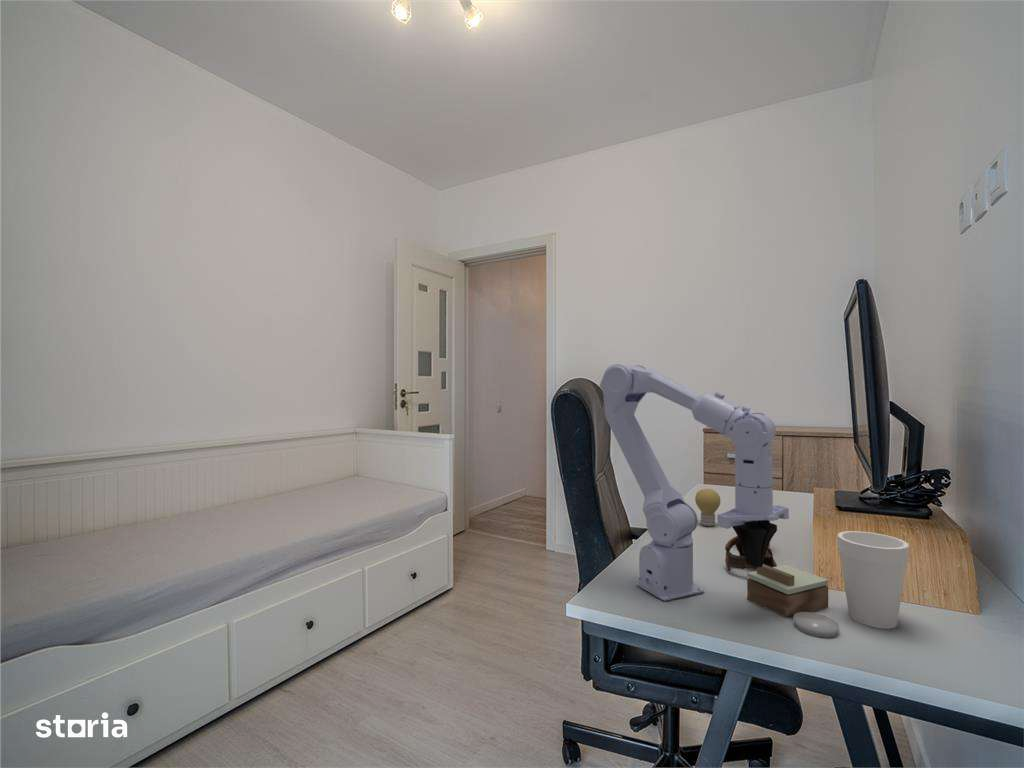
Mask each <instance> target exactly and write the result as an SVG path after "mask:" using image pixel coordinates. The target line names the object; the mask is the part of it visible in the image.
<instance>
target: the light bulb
mask: <svg viewBox="0 0 1024 768" xmlns="http://www.w3.org/2000/svg"><path fill="white" fill-rule="evenodd" d="M694 498H695V504H696V506H697V508H698V509H699V510H700V524H701V525H702V526H704V527H713V526H715V525H716V514H715V513H716V511H717V510H718V509H719V508H720V505H721V496H720V494H719V493H718V492H717V491H716V490H714V489H711V488H702V489H700V490H698V491H697V492H696V494H695V497H694Z"/></svg>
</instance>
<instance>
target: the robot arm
mask: <svg viewBox="0 0 1024 768" xmlns="http://www.w3.org/2000/svg"><path fill="white" fill-rule="evenodd" d="M599 387H600V389H601V391H602V393H603V405H604V406H603V407H604V416H605V419H606V422H607V423H608V426H609V427H610V429H611V431H612V434H613V436H614V437H615V439H616V442H617V443H618V446H619V447H620V450H621V452H622V453H623V455H624V458H625V460H626V461H627V464H628V466H629V468H630V470H631V471H632V474H633V476H634V478H635V480H636V483H637V484H638V486H639V488H640V490H641V493H642V494H643V497H644V501H643V506H642V512H643V513H644V516H645V520H646V521H645V522H646V530H647V532H648V534H649V536H650V537H651V539H652V540H651V542H649V543H648V544H645V545H643V546H642V547H641V549H640V551H639V555H638V556H639V557H638V558H639V561H638V562H639V563H638V564H639V566H638V567H639V571H638V573H639V578H638V579H639V581H638V582H636V585H637V586H638V587H640V588H642V589H643V590H645V591H646V592H649V593H650V594H651V595H653V596H655V597H657V598H658V599H660V600H661V601H665V602H667V601H671V600H674V599H679V598H684V597H688V596H693V595H697V594H701V593H705V592H704V591H705V590H704V588H702V587H700V586H698V585H697V584H694V540H693V535H692V533H693V532H694V531H695V530H696V529H697V526H698V524H699V523H698V522H699V519H698V514H697V512H696V511H695V509H694V507H692V506H691V505H690V504H689V503H688V502H687V501H686V500H685V498H683V495H682V494H681V492H679V491H678V490H677V489H675V488H674V487H673V486H671V483H670V482H669V480H668V478H667V476H666V475H665V472H664V471H663V469H662V466H661V465H660V462H659V460H658V458H657V457H656V455H655V453H654V451H653V449H652V447H651V445H650V443H649V440H648V439H647V436H646V435H645V433H644V431H643V430H642V427H641V426H640V424H639V422H638V420H637V418H636V416H635V413H636V412H637V411H636V410H637V408H638V405H639V403H640V402H641V401H642V399H643V398H644V397H645V396H646V395H647V393H648V394H649V393H653V394H655V395H658V396H660V397H661V398H664V399H667V400H669V401H670V402H673V403H675V404H678V405H679V406H682V407H683V408H685V409H688V410H690V411H691V414H692V416H693V418H694V420H695V421H697V422H698V423H701V424H702V425H704V426H705V427H708V428H710V429H711V430H713V431H716V432H718V433H719V434H722V435H724V436H725V437H727V438H728V437H729V438H730V440H731V442H732V443H733V445H734V447H735V448H734V452H735V453H734V492H735V493H734V499H735V501H734V505H735V506H734V507H735V508H733V509H730V510H727V511H725V512H722V513H717V516H716V517H717V526H718V527H720V528H723V529H727V530H728V529H733V530H734V533H735V534H736V536H738V538H739V540H740V542H741V545H742V548H743V551H744V555H745V558H746V562H747V564H748V565H751V566H753V567H752V568H756V569H757V568H758V567H762V565H763V562H764V558H765V555H766V551H767V548H768V545H769V543H770V544H771V542H772V539H773V537H774V536H775V534H776V533H777V531H778V525H777V524H775V523H772V522H774V521H778V520H781V519H782V520H788V519H790V517H789V515H790V514H789V510H790V509H789V507H787V506H782V505H773V504H774V501H773V500H774V496H773V491H774V487H773V485H774V484H773V483H774V482H773V458H772V457H773V455H772V453H773V452H772V450H773V449H772V444H771V442H773V440H774V439H775V437H776V432H777V431H776V425H775V424H774V421H773V420H772V419H770V417H768V416H766V415H765V414H764V413H762V412H751V407H749V406H747V405H743V406H740V405H738V404H736V403H734V402H732V401H730V400H728V399H726V398H725V397H726V396H725V394H724V393H721V392H718V391H717V392H715V393H713V392H710V391H709V392H705V393H703V394H699V393H698V392H696V391H695V390H692V389H691V388H689V387H687V386H684V385H683V384H681V383H679V382H677V381H675V380H673V379H671V378H670V377H668V376H666V375H664V374H662V373H660V372H658V371H656V370H654V369H652V368H647V367H645V366H643V365H639V364H637V365H627V364H625V365H624V364H622V363H621V364H620V363H615V364H612V365H610V366H608V367H607V368H606V370H605V371H604V372H603V376H602V379H601V380H600V384H599ZM769 521H770V523H769Z"/></svg>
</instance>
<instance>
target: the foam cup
mask: <svg viewBox="0 0 1024 768" xmlns="http://www.w3.org/2000/svg"><path fill="white" fill-rule="evenodd" d="M836 536H837V538H836V539H837V551H838V552H839V559H840V565H841V571H842V577H843V584H844V591H845V597H846V603H847V610H848V615H849V617H851V619H852V620H854V621H855V622H858V623H860V624H862V625H865V626H869V627H872V628H878V629H894V628H896V627H897V624H898V621H899V620H898V619H899V614H900V607H901V599H902V594H903V588H904V581H905V575H906V570H907V563H909V543H908V542H906V541H904V540H903V539H900V538H897V537H894V536H891V535H887V534H882V533H877V532H876V533H875V532H870V531H869V532H868V531H860V530H859V531H857V530H855V531H854V530H853V531H851V530H846V531H841V532H838V534H837V535H836Z"/></svg>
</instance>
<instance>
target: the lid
mask: <svg viewBox="0 0 1024 768" xmlns="http://www.w3.org/2000/svg"><path fill="white" fill-rule="evenodd" d="M746 577H747V579H749V578H750V579H752V580H755V581H757V582H759V583H762V584H764V585H766V586H769V587H771V588H774V589H776V590H778V591H781V592H783V593H785V594H788V595H789V594H793V593H797V592H801V591H805V590H809V589H813V588H817V587H821V586H825V585H826V586H828V585H829V579H827V578H824V577H821V576H818V575H816V574H813V573H810V572H807V571H804V570H801V569H800V568H797V567H794V566H790V565H788V564H783V565H777V567H770V566H767V565H765V564H763V565H762V567H758V568H756V570H754V571H751V572H747V573H746Z"/></svg>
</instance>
